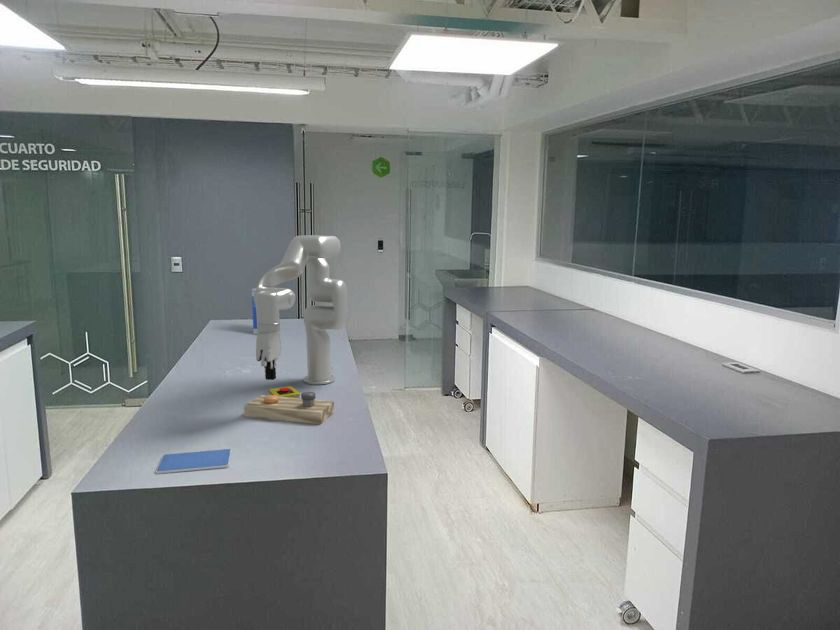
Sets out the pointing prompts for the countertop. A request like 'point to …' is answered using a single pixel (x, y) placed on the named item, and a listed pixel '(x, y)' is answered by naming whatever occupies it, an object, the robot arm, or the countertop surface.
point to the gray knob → (308, 399)
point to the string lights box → (254, 313)
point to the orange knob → (271, 399)
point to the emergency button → (285, 392)
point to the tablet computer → (194, 461)
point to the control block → (290, 410)
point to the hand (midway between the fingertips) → (270, 378)
